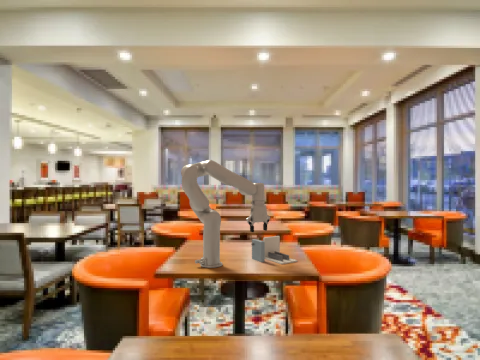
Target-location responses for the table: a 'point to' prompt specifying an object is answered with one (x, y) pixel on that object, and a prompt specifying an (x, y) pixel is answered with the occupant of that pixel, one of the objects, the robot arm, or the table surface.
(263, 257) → the door panel
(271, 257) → the cabinet base
